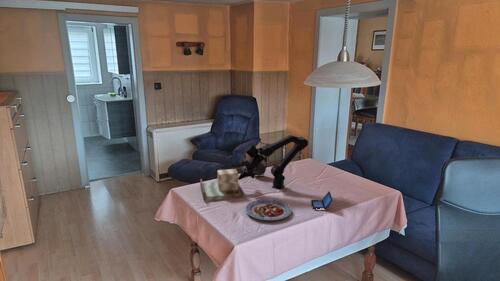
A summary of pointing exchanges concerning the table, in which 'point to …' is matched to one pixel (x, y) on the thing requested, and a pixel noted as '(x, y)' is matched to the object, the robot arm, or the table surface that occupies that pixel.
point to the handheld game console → (322, 202)
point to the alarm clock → (260, 169)
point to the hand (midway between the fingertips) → (238, 179)
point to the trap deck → (218, 192)
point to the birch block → (227, 179)
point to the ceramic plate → (268, 209)
